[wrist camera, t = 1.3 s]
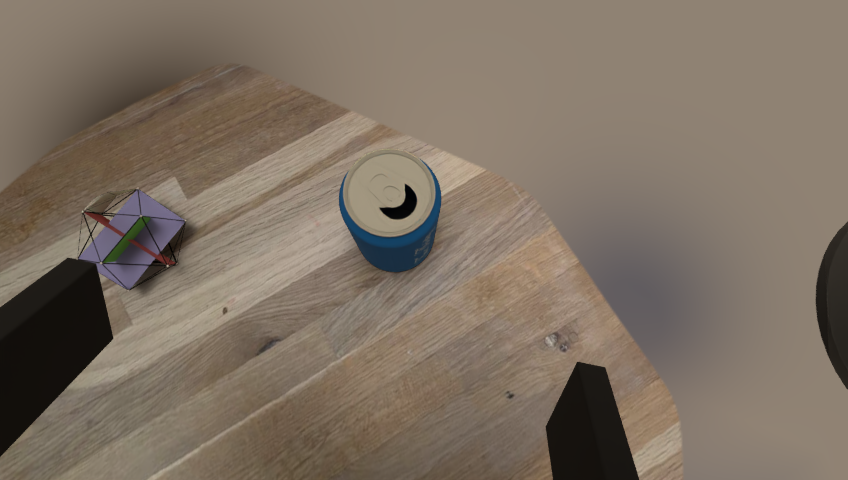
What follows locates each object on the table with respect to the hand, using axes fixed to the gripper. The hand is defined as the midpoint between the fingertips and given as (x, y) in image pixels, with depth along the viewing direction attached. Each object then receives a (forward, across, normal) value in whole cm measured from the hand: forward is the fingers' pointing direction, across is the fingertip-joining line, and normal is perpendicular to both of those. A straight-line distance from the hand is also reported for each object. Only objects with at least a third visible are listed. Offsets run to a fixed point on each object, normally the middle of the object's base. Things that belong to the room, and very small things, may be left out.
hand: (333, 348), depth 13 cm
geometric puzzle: (+22, -20, -16) cm, 33 cm away
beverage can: (+25, 0, -12) cm, 28 cm away
